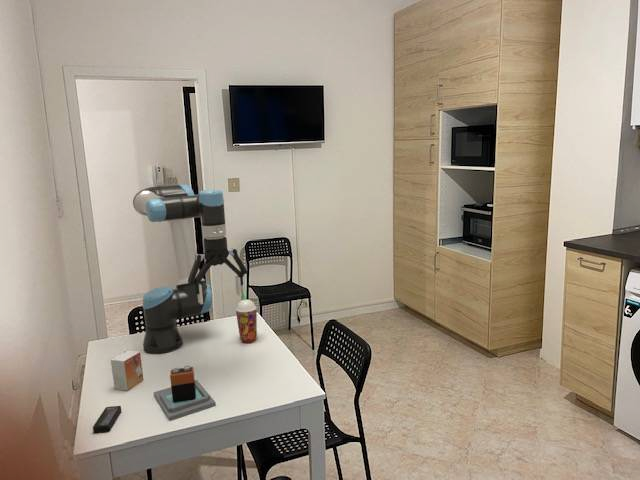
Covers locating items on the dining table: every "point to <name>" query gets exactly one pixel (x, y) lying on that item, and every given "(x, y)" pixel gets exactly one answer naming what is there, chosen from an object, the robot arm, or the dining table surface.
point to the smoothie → (247, 320)
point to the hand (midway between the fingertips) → (220, 299)
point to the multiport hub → (107, 419)
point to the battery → (183, 384)
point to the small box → (127, 370)
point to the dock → (183, 402)
